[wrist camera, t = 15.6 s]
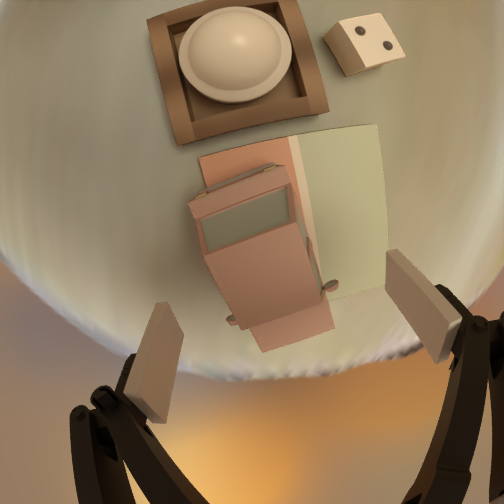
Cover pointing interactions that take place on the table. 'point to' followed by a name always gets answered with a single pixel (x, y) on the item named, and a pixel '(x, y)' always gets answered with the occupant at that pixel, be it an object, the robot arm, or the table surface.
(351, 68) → the die
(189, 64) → the dome
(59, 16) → the table surface
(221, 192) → the toy car
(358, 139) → the board
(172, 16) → the dome housing
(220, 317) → the table surface
